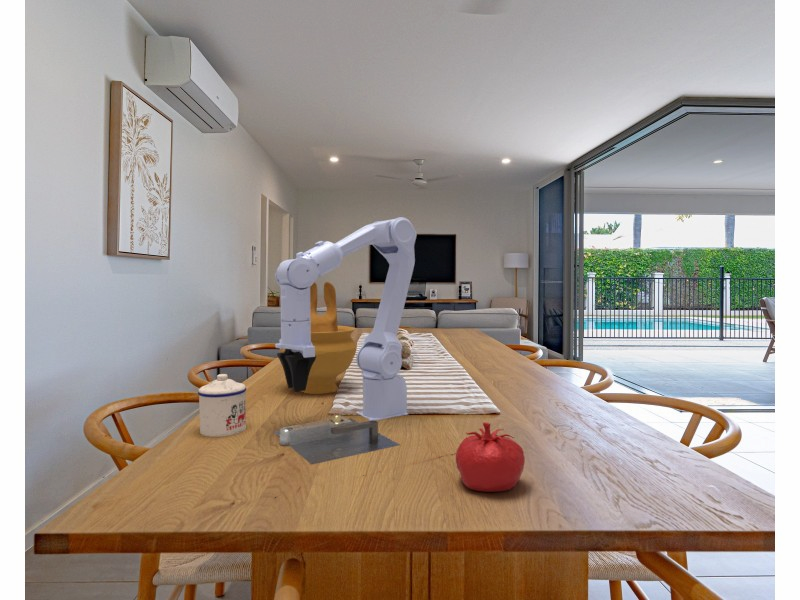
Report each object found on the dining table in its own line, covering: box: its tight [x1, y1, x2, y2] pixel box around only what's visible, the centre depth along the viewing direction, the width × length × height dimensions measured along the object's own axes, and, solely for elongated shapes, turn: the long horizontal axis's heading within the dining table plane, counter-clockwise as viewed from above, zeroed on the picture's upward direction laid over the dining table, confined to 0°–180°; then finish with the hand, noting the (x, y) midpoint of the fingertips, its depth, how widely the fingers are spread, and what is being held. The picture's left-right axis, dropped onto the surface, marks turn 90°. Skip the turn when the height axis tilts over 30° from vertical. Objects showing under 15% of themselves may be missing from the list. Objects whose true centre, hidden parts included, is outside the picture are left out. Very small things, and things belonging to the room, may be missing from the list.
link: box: [279, 415, 352, 447], centre depth 91 cm, size 13×4×3 cm, turn 122°
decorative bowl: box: [278, 281, 357, 395], centre depth 133 cm, size 21×21×30 cm
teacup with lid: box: [197, 373, 247, 438], centre depth 97 cm, size 12×9×12 cm
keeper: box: [331, 419, 379, 443], centre depth 86 cm, size 9×1×4 cm, turn 122°
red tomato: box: [455, 421, 526, 493], centre depth 71 cm, size 10×10×9 cm
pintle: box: [332, 413, 342, 423], centre depth 93 cm, size 2×2×4 cm
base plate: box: [273, 418, 401, 465], centre depth 91 cm, size 17×20×1 cm
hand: (296, 389), depth 95 cm, fingers open, 3 cm apart
